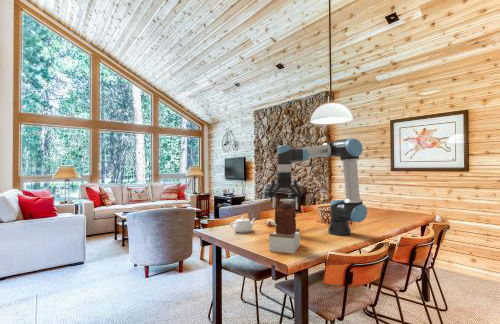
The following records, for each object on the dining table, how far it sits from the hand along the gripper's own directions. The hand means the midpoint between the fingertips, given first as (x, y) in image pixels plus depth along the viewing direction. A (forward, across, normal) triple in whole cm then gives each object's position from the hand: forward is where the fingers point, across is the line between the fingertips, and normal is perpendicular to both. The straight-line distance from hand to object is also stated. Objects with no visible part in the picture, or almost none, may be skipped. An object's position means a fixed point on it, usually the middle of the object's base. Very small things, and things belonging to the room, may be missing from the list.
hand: (285, 208), depth 162 cm
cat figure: (+24, +20, -50) cm, 58 cm away
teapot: (+23, +38, -31) cm, 54 cm away
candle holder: (+23, +6, -33) cm, 40 cm away
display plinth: (+23, 0, 0) cm, 23 cm away
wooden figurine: (+15, 0, 0) cm, 15 cm away
